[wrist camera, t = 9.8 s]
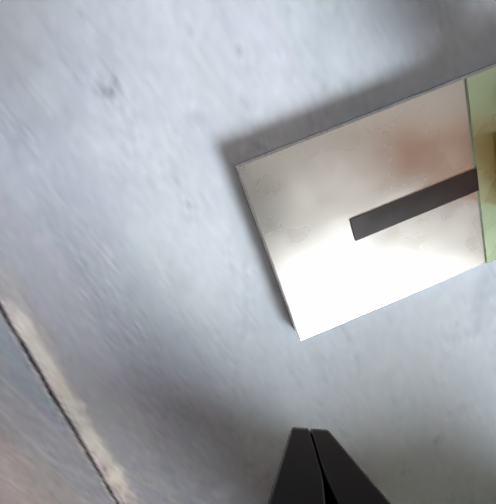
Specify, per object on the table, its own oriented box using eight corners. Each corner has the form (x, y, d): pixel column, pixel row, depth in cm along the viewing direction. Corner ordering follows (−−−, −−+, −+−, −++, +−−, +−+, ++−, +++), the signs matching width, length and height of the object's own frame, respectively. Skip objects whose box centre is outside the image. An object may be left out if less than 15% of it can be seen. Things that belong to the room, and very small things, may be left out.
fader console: (294, 329, 20) (313, 362, 17) (234, 165, 17) (245, 171, 14) (564, 215, 21) (627, 228, 18) (560, 37, 18) (637, 17, 15)
